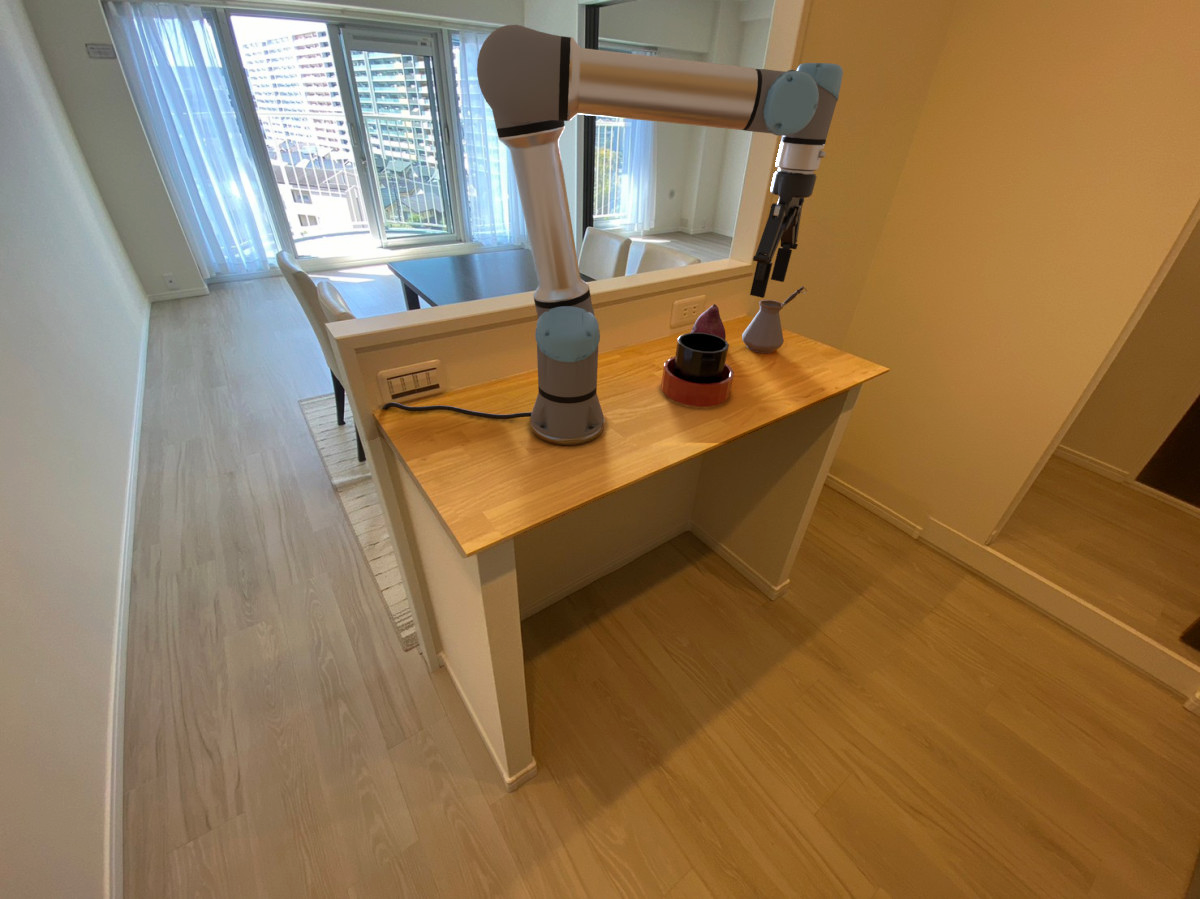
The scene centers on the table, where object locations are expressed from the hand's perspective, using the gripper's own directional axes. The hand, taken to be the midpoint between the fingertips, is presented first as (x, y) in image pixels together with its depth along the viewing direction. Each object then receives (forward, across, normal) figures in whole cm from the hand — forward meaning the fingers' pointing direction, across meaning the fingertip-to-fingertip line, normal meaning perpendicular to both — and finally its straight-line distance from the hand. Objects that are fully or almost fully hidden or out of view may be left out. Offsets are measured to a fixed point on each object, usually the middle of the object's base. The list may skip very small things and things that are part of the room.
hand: (767, 288), depth 102 cm
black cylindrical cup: (+25, -5, +10) cm, 27 cm away
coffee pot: (+26, +36, +4) cm, 44 cm away
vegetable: (+26, +21, +18) cm, 38 cm away
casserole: (+26, -5, +10) cm, 28 cm away
